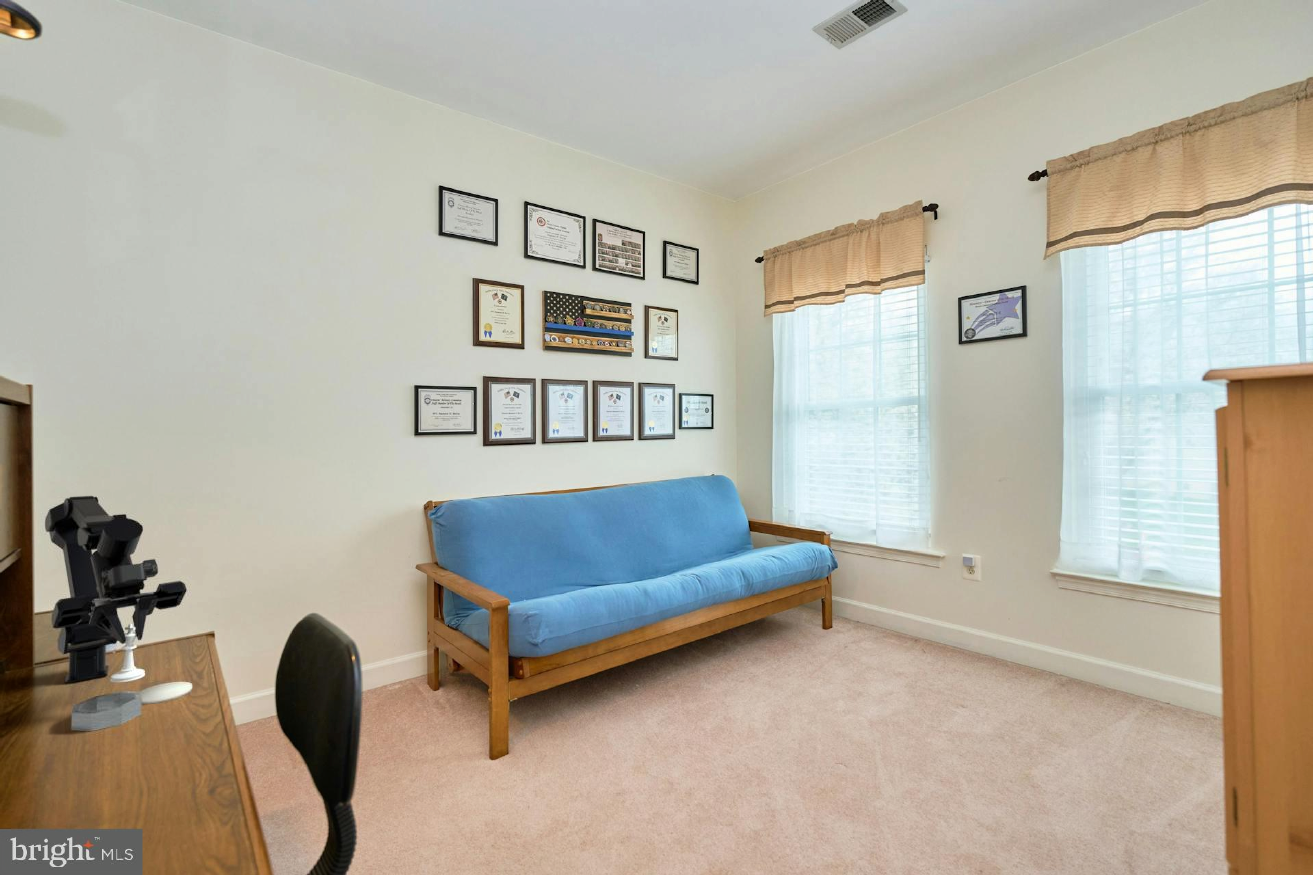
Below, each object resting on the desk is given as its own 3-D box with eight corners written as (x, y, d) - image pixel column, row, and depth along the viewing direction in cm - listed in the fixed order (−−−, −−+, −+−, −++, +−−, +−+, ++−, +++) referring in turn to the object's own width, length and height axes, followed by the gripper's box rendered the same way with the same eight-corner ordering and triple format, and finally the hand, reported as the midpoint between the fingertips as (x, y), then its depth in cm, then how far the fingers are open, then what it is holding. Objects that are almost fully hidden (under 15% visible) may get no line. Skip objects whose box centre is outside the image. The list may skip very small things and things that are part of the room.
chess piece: (127, 683, 109) (129, 628, 109) (102, 681, 109) (105, 626, 110) (152, 673, 114) (154, 620, 114) (128, 671, 114) (131, 619, 114)
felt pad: (133, 692, 119) (133, 689, 119) (190, 681, 125) (190, 678, 125) (133, 708, 112) (133, 704, 112) (193, 694, 118) (193, 691, 118)
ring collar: (74, 716, 109) (74, 700, 109) (141, 702, 115) (141, 687, 115) (70, 735, 102) (70, 718, 102) (141, 719, 108) (141, 703, 108)
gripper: (56, 555, 106) (72, 629, 100) (184, 540, 122) (204, 604, 115) (44, 591, 111) (59, 664, 104) (169, 573, 126) (188, 636, 120)
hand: (132, 640), depth 111 cm, fingers closed on chess piece
